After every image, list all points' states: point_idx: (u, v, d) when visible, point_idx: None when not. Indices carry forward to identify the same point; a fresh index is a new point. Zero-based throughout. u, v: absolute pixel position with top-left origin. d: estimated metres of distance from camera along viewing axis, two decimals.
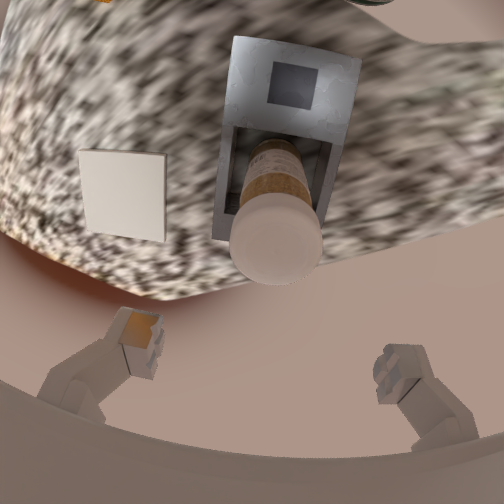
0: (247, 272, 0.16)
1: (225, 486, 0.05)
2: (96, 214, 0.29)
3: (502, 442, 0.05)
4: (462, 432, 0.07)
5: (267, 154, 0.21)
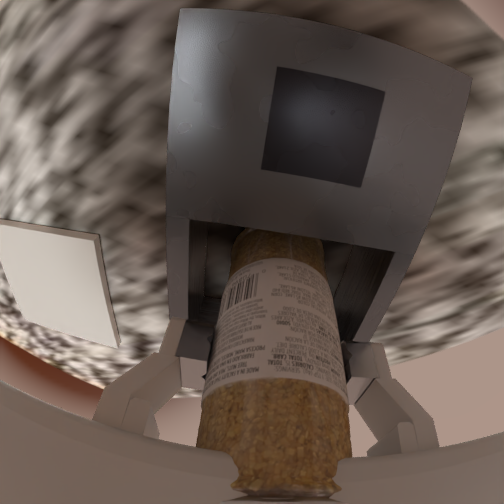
0: None
1: (225, 486, 0.05)
2: (28, 303, 0.19)
3: (502, 442, 0.05)
4: (418, 439, 0.07)
5: (262, 279, 0.10)
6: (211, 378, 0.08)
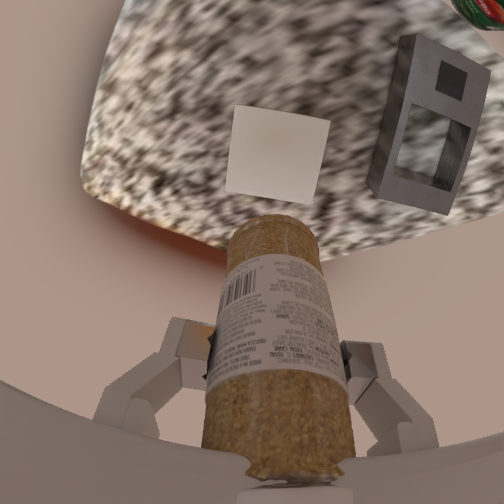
0: None
1: (225, 486, 0.05)
2: (241, 173, 0.30)
3: (502, 442, 0.05)
4: (418, 439, 0.07)
5: (259, 275, 0.11)
6: (214, 372, 0.08)
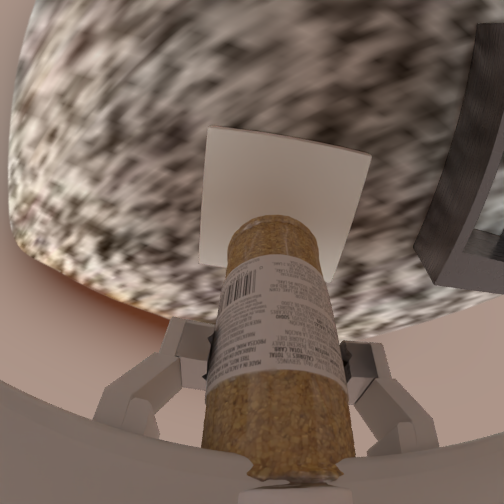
0: None
1: (225, 486, 0.05)
2: (223, 238, 0.19)
3: (502, 442, 0.05)
4: (418, 439, 0.07)
5: (259, 275, 0.11)
6: (214, 373, 0.08)
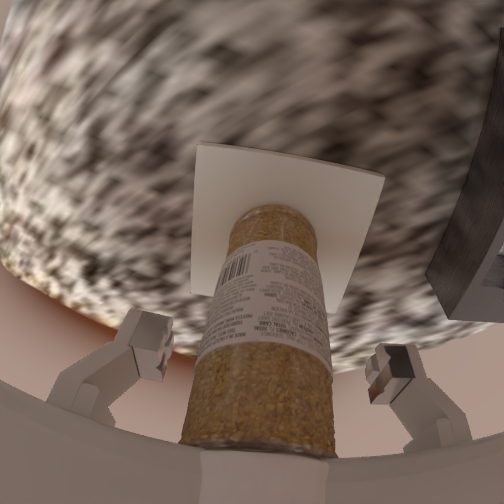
0: None
1: None
2: (216, 268, 0.17)
3: (502, 442, 0.05)
4: (454, 434, 0.07)
5: (253, 258, 0.11)
6: (203, 345, 0.09)
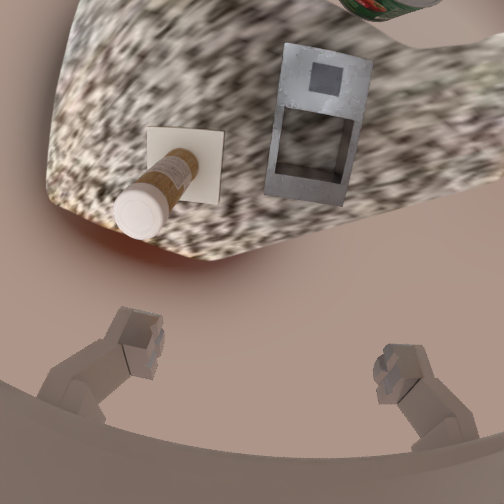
0: (124, 230, 0.25)
1: (225, 486, 0.05)
2: None
3: (502, 442, 0.05)
4: (462, 432, 0.07)
5: (160, 160, 0.30)
6: None
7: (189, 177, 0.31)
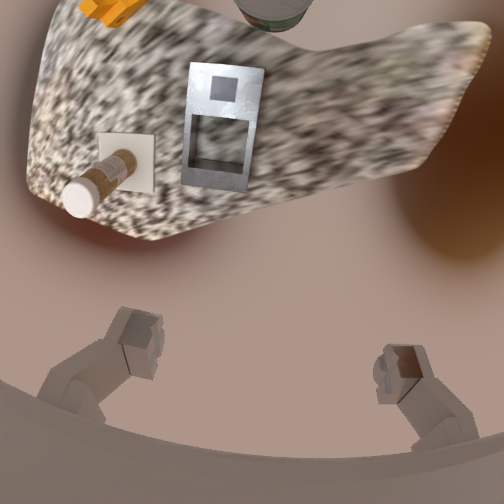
0: (70, 211, 0.31)
1: (225, 486, 0.05)
2: None
3: (502, 442, 0.05)
4: (462, 432, 0.07)
5: (103, 159, 0.37)
6: None
7: (124, 172, 0.38)
